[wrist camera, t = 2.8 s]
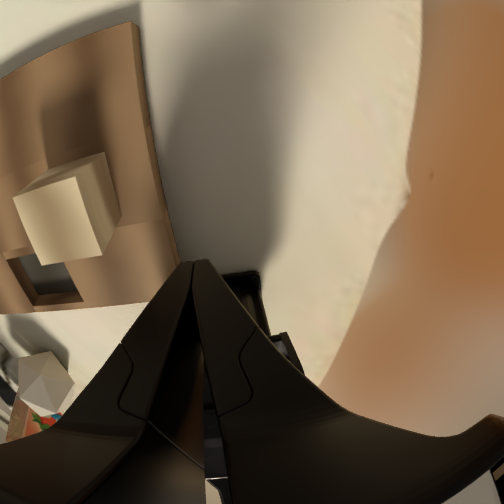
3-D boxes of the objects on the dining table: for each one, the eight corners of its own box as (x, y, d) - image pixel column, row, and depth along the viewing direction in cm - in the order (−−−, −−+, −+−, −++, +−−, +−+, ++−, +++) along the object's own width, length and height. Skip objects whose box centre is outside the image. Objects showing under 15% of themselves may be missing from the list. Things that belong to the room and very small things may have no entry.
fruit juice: (13, 374, 30) (-11, 520, 7) (60, 392, 33) (47, 546, 10) (26, 397, 34) (10, 522, 11) (68, 412, 37) (60, 542, 14)
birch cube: (104, 151, 15) (75, 176, 11) (121, 216, 17) (102, 255, 13) (48, 169, 14) (12, 197, 11) (67, 227, 17) (41, 265, 13)
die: (16, 333, 25) (6, 397, 22) (35, 351, 22) (25, 428, 18) (62, 349, 32) (52, 407, 28) (91, 367, 28) (80, 434, 24)
